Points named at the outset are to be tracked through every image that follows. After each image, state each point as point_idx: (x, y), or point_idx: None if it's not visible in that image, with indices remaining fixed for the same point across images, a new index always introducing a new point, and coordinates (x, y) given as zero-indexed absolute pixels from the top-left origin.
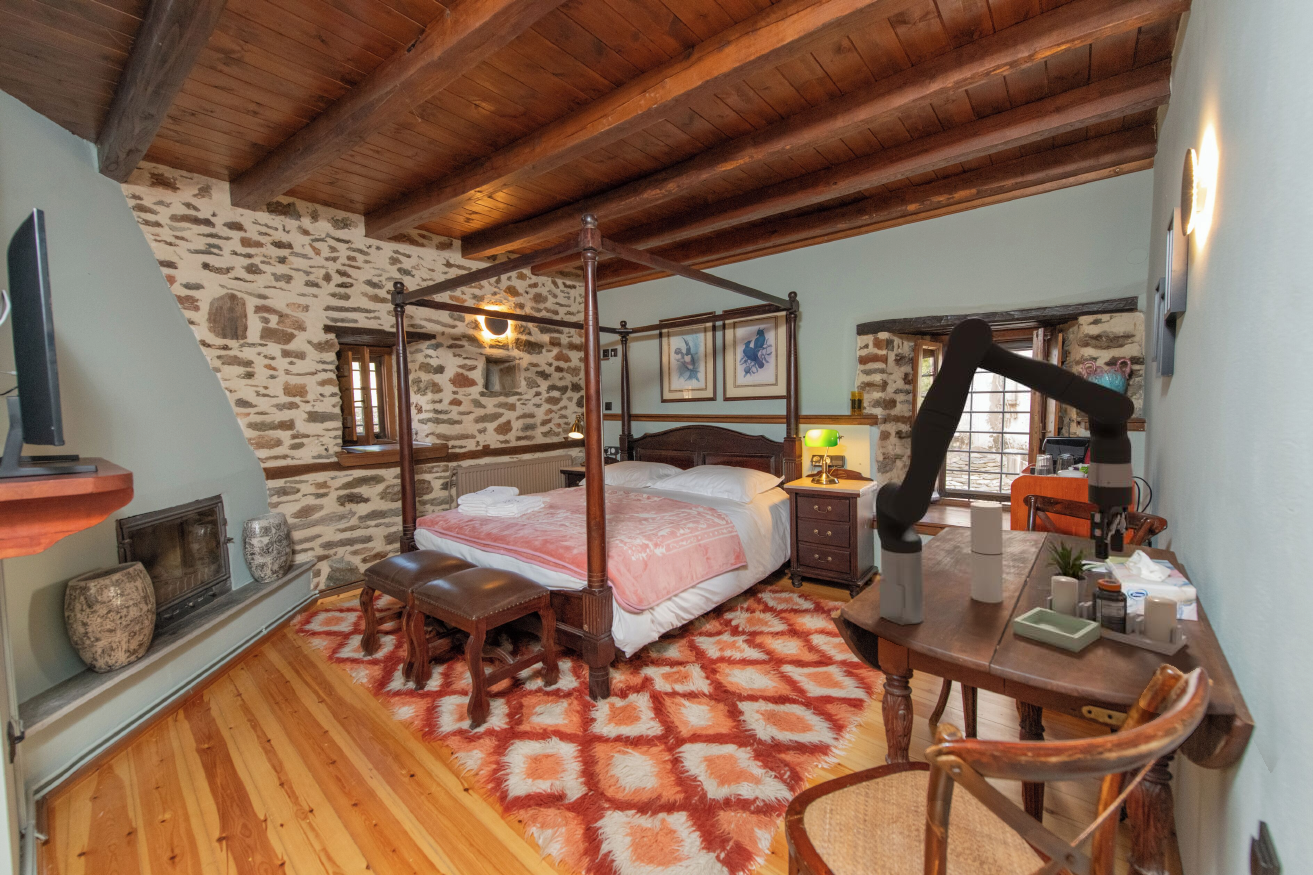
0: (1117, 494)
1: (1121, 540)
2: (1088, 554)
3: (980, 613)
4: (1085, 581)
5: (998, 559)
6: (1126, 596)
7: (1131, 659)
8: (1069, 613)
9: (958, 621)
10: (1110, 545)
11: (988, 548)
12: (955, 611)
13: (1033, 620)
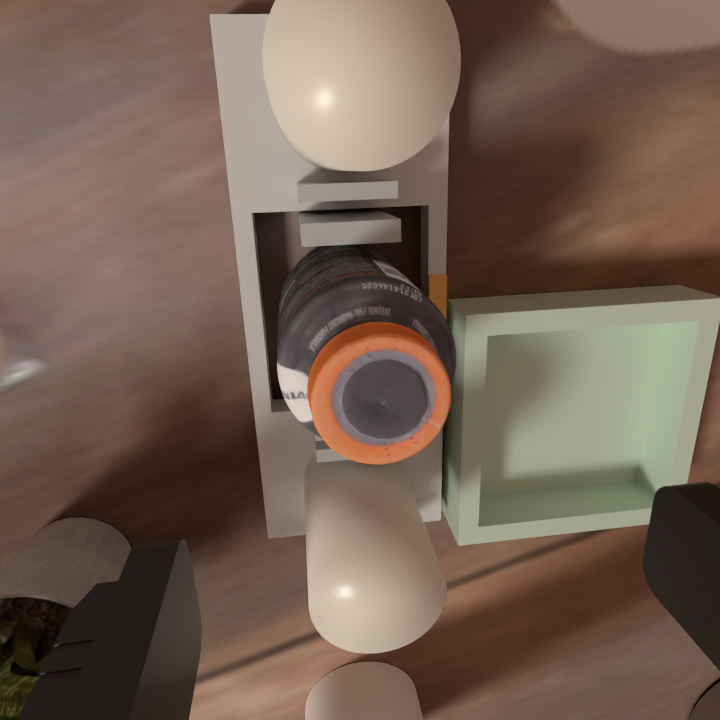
0: None
1: (144, 698)
2: None
3: (539, 630)
4: (23, 585)
5: None
6: (347, 284)
7: (607, 126)
8: None
9: (665, 621)
10: (190, 698)
11: None
12: (582, 673)
13: (533, 499)
